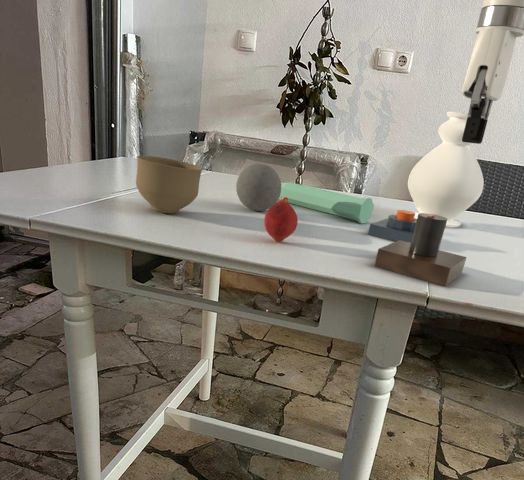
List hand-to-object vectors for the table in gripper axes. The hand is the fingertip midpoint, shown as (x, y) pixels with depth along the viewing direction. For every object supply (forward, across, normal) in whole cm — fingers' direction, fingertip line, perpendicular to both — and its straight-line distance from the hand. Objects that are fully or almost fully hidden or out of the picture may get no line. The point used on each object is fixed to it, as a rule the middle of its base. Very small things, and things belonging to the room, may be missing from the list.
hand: (471, 142), depth 92 cm
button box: (+20, -3, -10) cm, 22 cm away
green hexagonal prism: (+19, -10, -33) cm, 39 cm away
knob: (+17, +18, +1) cm, 25 cm away
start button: (+16, -3, -10) cm, 19 cm away
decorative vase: (+20, -31, -11) cm, 38 cm away
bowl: (+19, +26, -49) cm, 59 cm away
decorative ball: (+19, +6, -41) cm, 46 cm away
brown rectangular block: (+20, +18, +1) cm, 27 cm away
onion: (+20, +25, -23) cm, 40 cm away
